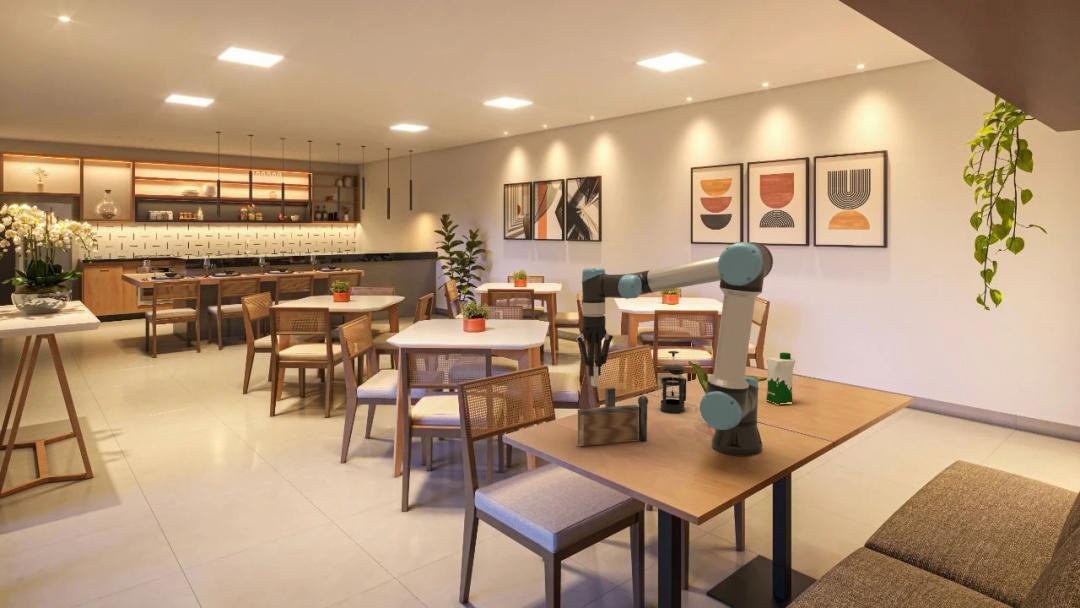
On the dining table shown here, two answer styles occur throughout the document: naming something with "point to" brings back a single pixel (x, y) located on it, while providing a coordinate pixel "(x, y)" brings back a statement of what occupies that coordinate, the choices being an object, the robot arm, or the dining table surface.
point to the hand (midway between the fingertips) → (594, 385)
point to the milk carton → (780, 378)
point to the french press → (672, 404)
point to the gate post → (642, 419)
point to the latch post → (610, 397)
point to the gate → (607, 425)
